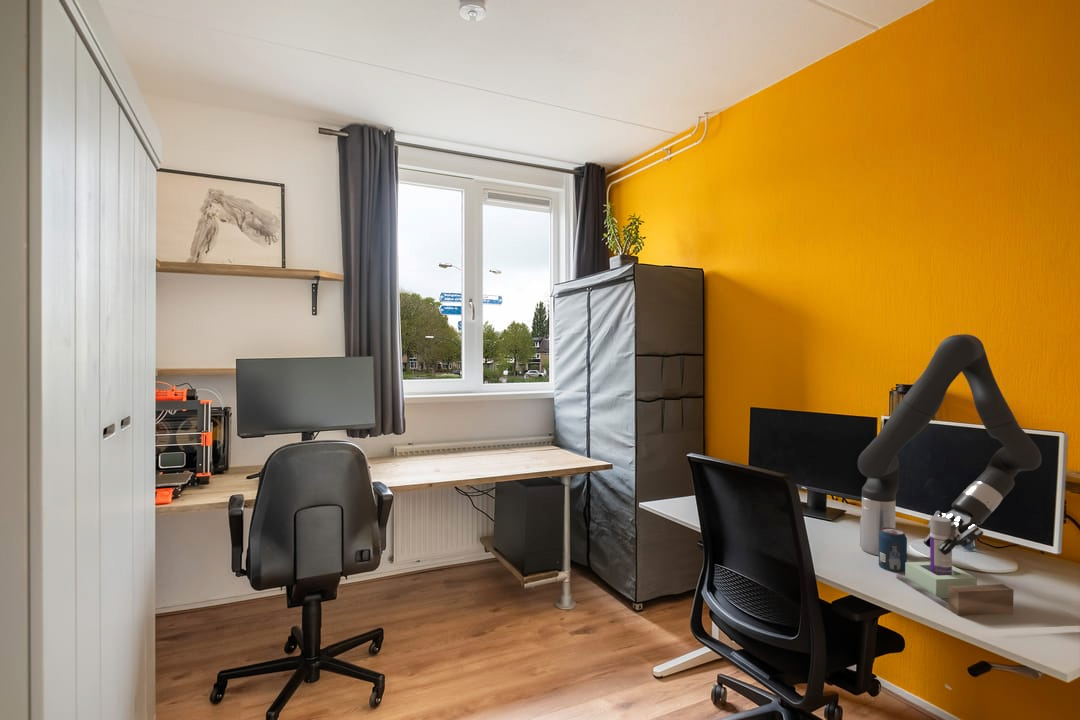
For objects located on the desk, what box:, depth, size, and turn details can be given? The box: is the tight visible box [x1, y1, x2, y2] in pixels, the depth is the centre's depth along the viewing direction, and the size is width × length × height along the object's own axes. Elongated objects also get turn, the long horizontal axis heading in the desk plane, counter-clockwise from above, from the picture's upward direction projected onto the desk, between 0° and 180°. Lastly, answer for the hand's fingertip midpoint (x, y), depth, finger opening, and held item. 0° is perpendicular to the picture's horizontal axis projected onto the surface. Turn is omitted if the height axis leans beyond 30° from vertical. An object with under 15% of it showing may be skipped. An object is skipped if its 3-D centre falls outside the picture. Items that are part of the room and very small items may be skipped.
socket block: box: [904, 561, 978, 599], centre depth 147 cm, size 11×11×5 cm
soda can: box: [878, 527, 908, 573], centre depth 161 cm, size 7×7×12 cm
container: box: [929, 515, 953, 576], centre depth 147 cm, size 5×5×15 cm
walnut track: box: [895, 574, 1015, 617], centre depth 143 cm, size 23×14×7 cm, turn 3°
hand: (934, 548), depth 147 cm, fingers closed on container, 4 cm apart
